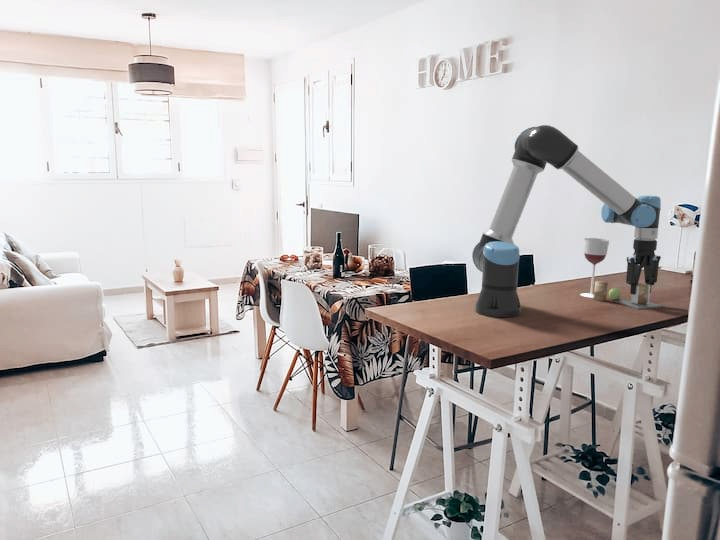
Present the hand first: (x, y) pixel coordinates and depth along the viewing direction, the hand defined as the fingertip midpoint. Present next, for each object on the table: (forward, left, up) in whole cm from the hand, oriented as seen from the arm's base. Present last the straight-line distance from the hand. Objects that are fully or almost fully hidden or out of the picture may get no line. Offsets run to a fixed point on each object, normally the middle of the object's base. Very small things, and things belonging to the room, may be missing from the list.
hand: (639, 302), depth 206 cm
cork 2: (0, 0, 0) cm, 0 cm away
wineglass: (-7, +17, -1) cm, 18 cm away
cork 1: (-9, +10, -1) cm, 14 cm away
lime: (-3, +9, -1) cm, 10 cm away
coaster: (-1, 0, -1) cm, 1 cm away
